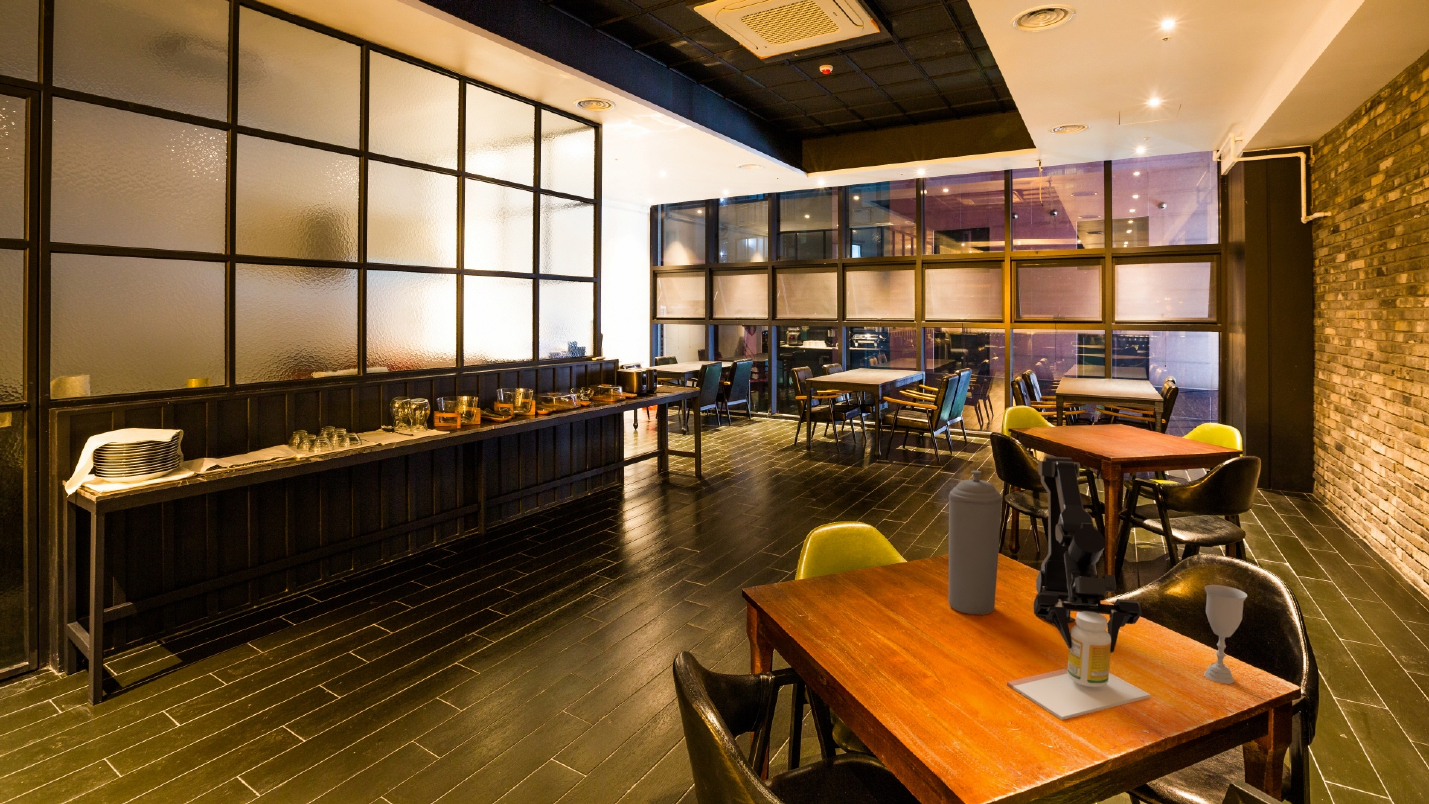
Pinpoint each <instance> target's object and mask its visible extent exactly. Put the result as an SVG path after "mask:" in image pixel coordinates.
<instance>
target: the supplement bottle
mask: <svg viewBox="0 0 1429 804" xmlns="http://www.w3.org/2000/svg"><path fill="white" fill-rule="evenodd" d="M1075 619H1076V620H1075V623H1076V625H1074V626H1072V627H1071V629H1069V631H1070V636H1071V643H1072V647H1071V649H1069V648H1068V659H1067V668H1068V676H1069V677H1070V678H1071V679H1072V680H1073V681H1074V682H1076V683H1078V684H1081V685H1084V686H1089V687H1102V686H1105V685H1106V684H1107V683H1108V678H1109V673H1110V665H1111V663H1110V662H1111V660H1110V659H1111V652H1110V650H1111V636H1110V634H1109V633H1108V630H1107V629H1108V627H1107V623H1108V618H1107V617H1106V616H1105V615H1104V614H1098V613H1095V612H1088V611H1083V612H1077V613H1076V617H1075Z"/></svg>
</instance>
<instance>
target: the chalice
mask: <svg viewBox="0 0 1429 804" xmlns="http://www.w3.org/2000/svg"><path fill="white" fill-rule="evenodd" d="M1204 591H1205V592H1206V603H1205V604H1206V605H1205V614H1206V616H1207V620H1208V623H1209V625H1210V627H1211V630H1212V632H1213V633H1214V634H1215V635H1216V636H1218V642H1217V643H1216V646H1217V648H1218V650H1217V652H1215V655H1216V656H1217V660H1216V662H1215V663H1211V664H1209V665H1208V667H1207V668H1206V671H1204V673H1203V676H1204V677H1206V678H1207V679H1208V680H1210V681H1213V682H1216V683H1219V684H1226V685H1227V684H1228V685H1230V684H1233V683H1235V680H1234V678H1233V674H1232V671H1231V670H1230V668H1229V667H1228V666H1226V665H1225V664H1224V659H1225V657H1227V655H1226V654H1225V649H1226V647H1227V645H1226V641H1225V640H1226V638H1230V637H1232V636H1233V634H1234V633H1235V632H1236V631H1237V630H1238V628H1239V626H1240V624H1241V622H1242V620H1243V611H1244V601H1245V600H1246V599H1247V598H1248V594H1247V593H1246V592H1244V591H1243V590H1240V589H1238V588H1236V587H1231V586H1226V585H1220V584H1209V585H1208V584H1207V585H1205V586H1204Z"/></svg>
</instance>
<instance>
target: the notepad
mask: <svg viewBox="0 0 1429 804" xmlns="http://www.w3.org/2000/svg"><path fill="white" fill-rule="evenodd" d="M1006 685H1007V687H1009V688H1011V689H1012V688H1013V689H1012V690H1014V691H1016V692H1017V693H1019V694H1020V693H1021V694H1020V695H1022V696H1023V697H1025V698H1026V699H1028V700H1029V701H1030V702H1032V703H1034V704H1036V705H1037V706H1039V707H1040V708H1042V709H1043V710H1045V711H1047V712H1048V713H1049V714H1052V715H1053V716H1054V717H1056V718H1058V719H1059V720H1060V721H1063V720H1067V719H1068V720H1069V719H1072V718H1075V717H1079V716H1082V715H1087V714H1091V713H1095V712H1099V711H1102V710H1106V709H1110V708H1114V707H1117V706H1121V705H1126V704H1129V703H1133V702H1137V701H1141V700H1145V699H1149V698H1151V694H1150V693H1148V692H1146V691H1144V690H1143V689H1140V688H1139V687H1137V686H1136V685H1133V684H1131V683H1129V682H1127V681H1126V680H1123V679H1122V678H1120V677H1118V676H1116V675H1114V674H1112V673H1110V672H1109V678H1108V683H1107V684H1106V685H1105V686H1102V687H1089V686H1084V685H1081V684H1078V683H1076V682H1074V681H1073V680H1072V679H1071V678H1070V677H1069V676H1068V667H1066V668H1062V669H1057V670H1054V671H1048V672H1044V673H1040V674H1037V675H1031V676H1027V677H1023V678H1018V679H1014V680H1010V681H1006Z"/></svg>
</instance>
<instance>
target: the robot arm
mask: <svg viewBox="0 0 1429 804" xmlns="http://www.w3.org/2000/svg"><path fill="white" fill-rule="evenodd" d="M1042 459H1043V460H1038V465H1037V471H1038V475H1039V476H1040V483H1041V485H1042V486H1043V488H1044V490H1046V493H1047V517H1048V518H1047V519H1048V520H1047V525H1048V527H1047V529H1048V530H1047V533H1048V534H1047V535H1048V536H1047V538H1048V548H1047V549H1048V553H1047V555H1046V557H1044V560H1043V561H1042V563H1041V568H1040V570H1039V571H1038V574H1037V576H1036V581H1035V583H1036V585H1035V590H1036V591H1037V594H1036V595H1035V598H1034V600H1033V614H1034V615H1035V616H1036V617H1038V618H1039V619H1041V620H1044V621H1046V622H1048V623H1050V624H1052V625H1054V626H1055V628H1056V629H1057V630H1058V632H1059V634H1060V635H1061V637H1062V640H1063V641H1064V643H1065V644H1066V647H1067V648H1068V650H1069V649H1071V647H1072V643H1071V636H1070V628H1069V623H1074V622H1075V623H1076V618H1073V617H1072V616H1071V612H1077V613H1079V612H1083V611H1088V612H1095V613H1098V614H1101V615H1108V616H1109V620H1107V632H1108V633H1109V634H1110V636H1111V650H1110V654H1114V652H1115V649H1116V644H1117V639H1118V636H1119V631H1120V629H1121V628H1124V627H1125V626H1126V624H1127V625H1134V624H1136V623H1137V622H1138V621H1139V619H1140V618H1141V616H1142V615H1143V611H1142V606H1141V604H1140V603H1139V602H1138V601H1137V600H1136V599H1134V600H1133V599H1124V598H1123V599H1122V598H1117V599H1116V600H1115V602H1114V604H1110V603H1109V604H1108V603H1102V602H1103V601H1104V599H1105V596H1107V593H1115V592H1117V583H1116V577H1115V574H1103V575H1102V576H1101V577H1099V575H1098V573H1097V567H1096V564H1097V563H1098V562H1099V560H1100V557H1101V555H1102V553H1103V551H1104V549H1105V548H1106V543H1107V541H1106V537H1105V536H1104V534H1102V533H1101V532H1100V531H1099V530H1098V527H1097V526H1095V524H1094V521H1093V517H1092V516H1091V514H1090V513H1089V512H1087V511H1086V510H1085V509H1084V506H1083V505H1084V504H1083V500H1082V495H1081V491H1080V486H1079V481H1078V479H1079V478H1080V462H1075V461H1073V458H1072V457H1060V456H1044V457H1043V458H1042Z"/></svg>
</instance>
